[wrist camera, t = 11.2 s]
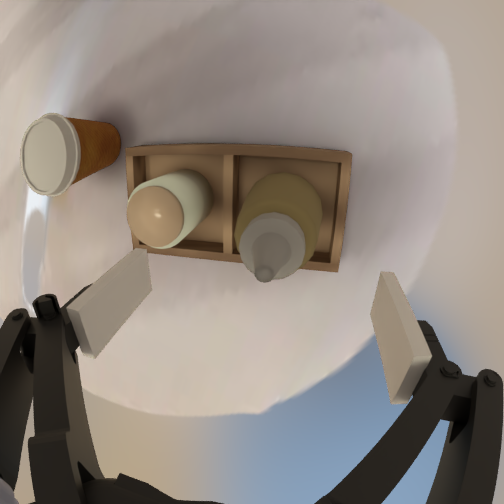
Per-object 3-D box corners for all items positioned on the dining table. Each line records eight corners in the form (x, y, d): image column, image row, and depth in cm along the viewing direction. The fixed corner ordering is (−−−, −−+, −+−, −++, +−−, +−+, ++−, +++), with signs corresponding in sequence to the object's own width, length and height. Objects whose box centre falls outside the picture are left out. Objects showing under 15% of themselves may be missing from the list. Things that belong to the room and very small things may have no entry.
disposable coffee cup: (96, 100, 34) (33, 100, 23) (142, 132, 35) (82, 139, 24) (70, 156, 37) (11, 172, 27) (112, 191, 38) (53, 216, 27)
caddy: (142, 145, 35) (125, 148, 32) (347, 151, 31) (352, 153, 28) (147, 240, 40) (133, 251, 37) (335, 258, 37) (337, 272, 33)
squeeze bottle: (318, 239, 35) (325, 334, 19) (249, 234, 36) (202, 322, 20) (323, 170, 32) (342, 210, 15) (250, 166, 33) (194, 202, 17)
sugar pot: (159, 168, 35) (120, 182, 27) (213, 169, 34) (184, 182, 26) (162, 223, 38) (126, 248, 30) (213, 226, 37) (187, 255, 29)
